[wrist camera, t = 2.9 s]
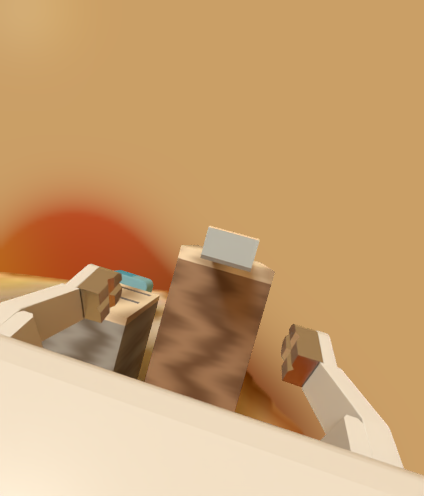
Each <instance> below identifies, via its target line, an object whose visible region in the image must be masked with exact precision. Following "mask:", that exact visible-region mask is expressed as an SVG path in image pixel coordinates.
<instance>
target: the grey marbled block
mask: <svg viewBox="0 0 424 496" xmlns="http://www.w3.org/2000/svg"><path fill="white" fill-rule="evenodd" d="M120 284H121V283H120ZM121 286H122V294H121V297H120V299H119V301H118V303H117V304H116V305H115V306H113V307H111V308H110V313H109V314H108V315H107V317H106V318H105V319H104V320H103V322H102V323H99V322H96V321H92V320H89V319H85V318H84V319H83V320H81V321H79V322H78V323H76V324H74V325H72V326H70V327H68V328H66V329H64V330H62V331H61V332H59V333H57V334H55V335H53V336H51V337H49V338H47V339H46V340H44V341H42V345H43V348H44V349H47V350H50V351H53V352H56V353H59V354H62V355H65V356H68V357H71V358H74V359H77V360H80V361H83V362H86V363H89V364H92V365H95V366H98V367H101V368H104V369H107V370H110V371H113V372H116V373H119V374H122V375H125V376H128V377H131V378H134V379H137V378H138V374H139V370H140V367H141V363H142V359H143V356H144V352H145V348H146V344H147V341H148V337H149V333H150V330H151V326H152V322H153V319H154V315H155V311H156V308H157V304H158V300H159V296H160V295H157V294H154V293H151V292H148V291H144V290H141V289H138V288H134V287H131V286H128V285H124V284H121Z"/></svg>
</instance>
